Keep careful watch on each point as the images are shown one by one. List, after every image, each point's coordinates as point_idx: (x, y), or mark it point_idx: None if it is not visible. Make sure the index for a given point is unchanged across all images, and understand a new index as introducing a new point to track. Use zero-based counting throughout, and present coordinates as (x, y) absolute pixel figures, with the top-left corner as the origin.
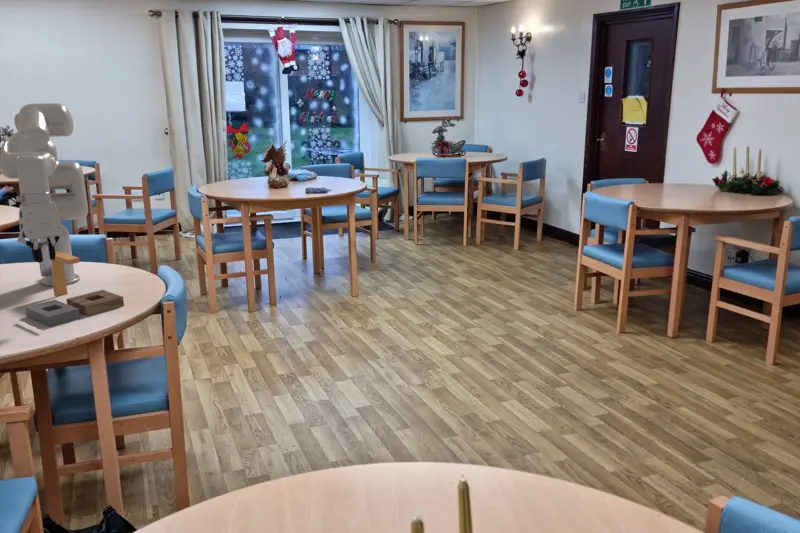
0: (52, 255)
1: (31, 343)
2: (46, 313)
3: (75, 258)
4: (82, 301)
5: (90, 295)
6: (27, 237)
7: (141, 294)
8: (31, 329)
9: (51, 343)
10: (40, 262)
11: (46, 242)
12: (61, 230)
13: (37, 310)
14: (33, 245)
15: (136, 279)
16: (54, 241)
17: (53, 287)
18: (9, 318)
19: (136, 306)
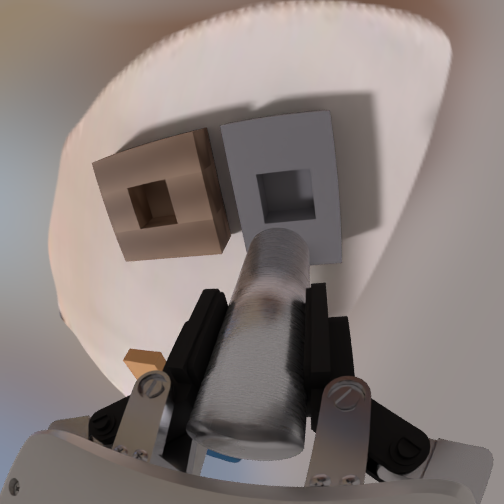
0: (210, 311)
1: (395, 54)
2: (321, 151)
3: (133, 362)
4: (188, 194)
5: (158, 235)
6: (474, 501)
7: (75, 236)
8: (360, 161)
9: (353, 14)
10: (317, 286)
11: (210, 426)
12: (21, 449)
13: (331, 205)
14: (369, 420)
15: (85, 321)
16: (135, 405)
17: None
18: (358, 286)
19: (90, 159)
